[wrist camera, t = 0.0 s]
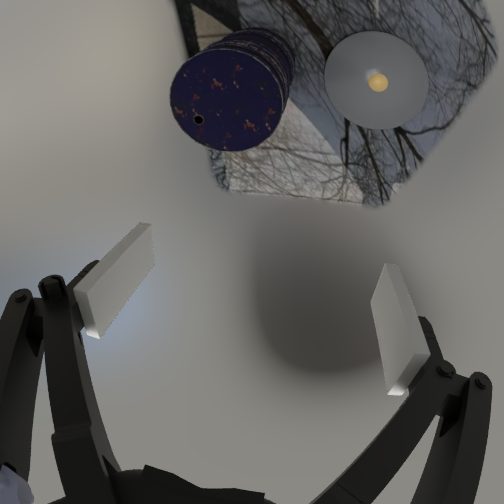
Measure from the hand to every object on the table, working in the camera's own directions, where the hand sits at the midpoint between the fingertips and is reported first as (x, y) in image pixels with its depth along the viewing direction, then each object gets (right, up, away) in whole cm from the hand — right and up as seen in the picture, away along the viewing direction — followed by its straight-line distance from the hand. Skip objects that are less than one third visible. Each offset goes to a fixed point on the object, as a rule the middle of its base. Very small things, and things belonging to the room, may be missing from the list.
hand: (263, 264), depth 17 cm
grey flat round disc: (+14, +22, +14) cm, 30 cm away
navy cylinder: (0, +24, +16) cm, 29 cm away
